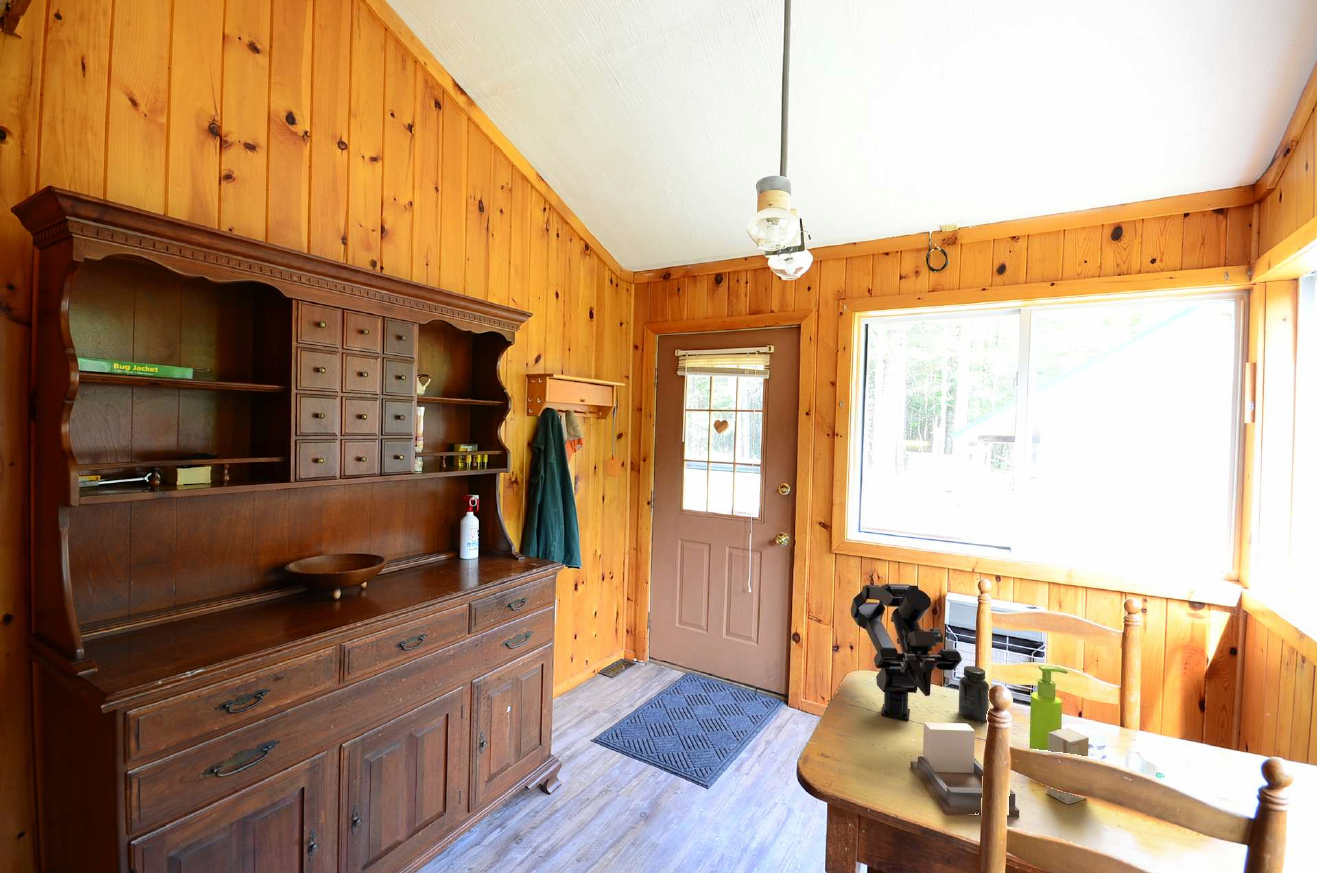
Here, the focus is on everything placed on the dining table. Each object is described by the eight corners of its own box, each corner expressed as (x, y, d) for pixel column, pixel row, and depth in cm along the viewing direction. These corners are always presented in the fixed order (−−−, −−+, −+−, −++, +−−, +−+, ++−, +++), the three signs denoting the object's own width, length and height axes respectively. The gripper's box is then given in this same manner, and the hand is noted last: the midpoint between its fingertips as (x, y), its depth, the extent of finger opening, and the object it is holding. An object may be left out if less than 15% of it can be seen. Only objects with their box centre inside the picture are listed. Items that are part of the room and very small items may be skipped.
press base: (910, 767, 127) (910, 747, 127) (974, 768, 126) (974, 749, 126) (946, 814, 111) (946, 792, 111) (1019, 816, 110) (1019, 794, 110)
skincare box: (1067, 806, 114) (1069, 742, 114) (1045, 793, 118) (1046, 732, 118) (1088, 798, 117) (1090, 736, 117) (1066, 786, 121) (1067, 726, 121)
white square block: (920, 761, 127) (921, 720, 127) (963, 762, 126) (964, 721, 126) (929, 771, 123) (930, 729, 123) (973, 773, 122) (974, 730, 122)
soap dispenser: (1071, 765, 129) (1073, 673, 129) (1035, 761, 130) (1038, 670, 130) (1058, 751, 135) (1060, 663, 135) (1025, 747, 136) (1027, 660, 136)
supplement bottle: (973, 709, 155) (974, 663, 155) (995, 721, 149) (996, 673, 149) (952, 711, 153) (953, 665, 153) (973, 724, 147) (974, 676, 147)
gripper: (879, 613, 139) (897, 679, 128) (958, 615, 139) (983, 681, 128) (867, 635, 147) (882, 699, 136) (942, 637, 147) (963, 702, 136)
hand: (927, 695), depth 134 cm, fingers closed
